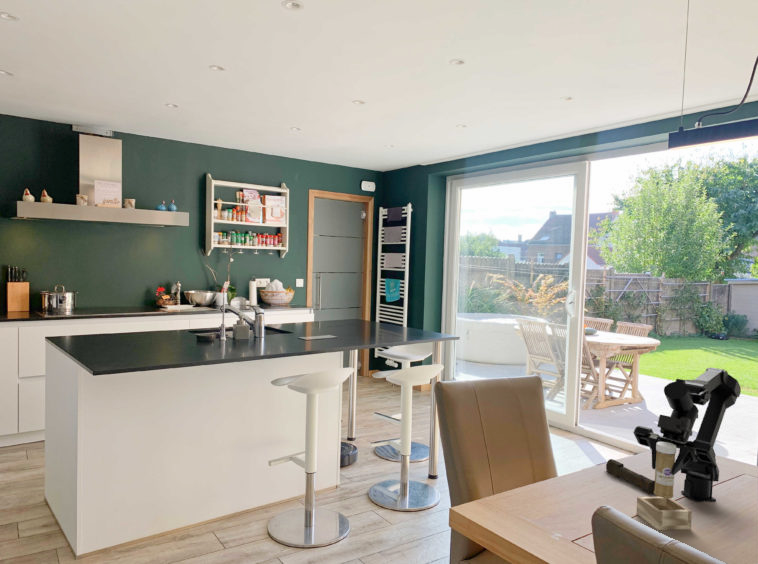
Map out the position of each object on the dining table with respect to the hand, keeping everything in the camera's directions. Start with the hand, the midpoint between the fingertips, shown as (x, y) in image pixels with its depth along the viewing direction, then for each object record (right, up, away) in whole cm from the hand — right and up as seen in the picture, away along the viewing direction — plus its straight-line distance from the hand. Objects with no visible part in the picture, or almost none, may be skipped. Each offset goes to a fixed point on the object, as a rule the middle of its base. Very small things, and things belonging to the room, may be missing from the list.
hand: (662, 471), depth 141 cm
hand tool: (+4, -13, +28) cm, 31 cm away
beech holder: (+1, -13, +1) cm, 13 cm away
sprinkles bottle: (+1, -7, +1) cm, 7 cm away
